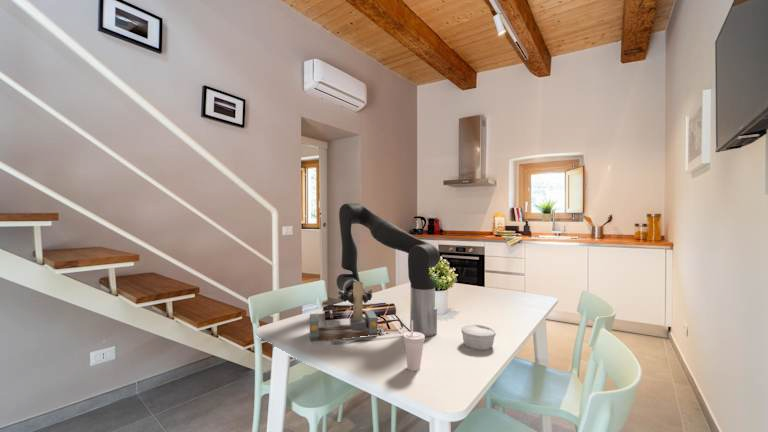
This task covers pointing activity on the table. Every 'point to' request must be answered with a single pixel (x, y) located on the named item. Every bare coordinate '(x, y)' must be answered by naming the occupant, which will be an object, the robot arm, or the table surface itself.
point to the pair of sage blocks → (369, 318)
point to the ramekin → (478, 337)
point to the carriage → (357, 307)
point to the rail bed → (340, 332)
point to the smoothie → (413, 348)
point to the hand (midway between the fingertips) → (359, 300)
